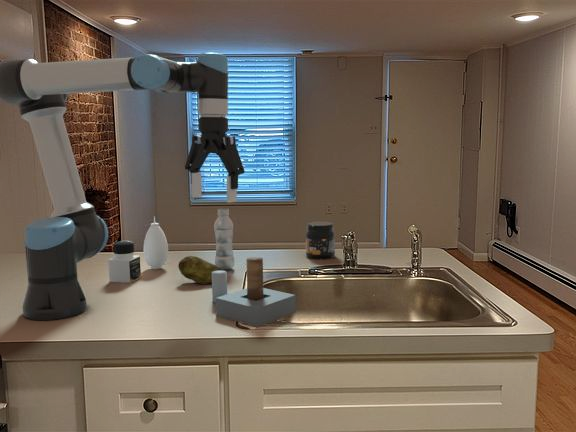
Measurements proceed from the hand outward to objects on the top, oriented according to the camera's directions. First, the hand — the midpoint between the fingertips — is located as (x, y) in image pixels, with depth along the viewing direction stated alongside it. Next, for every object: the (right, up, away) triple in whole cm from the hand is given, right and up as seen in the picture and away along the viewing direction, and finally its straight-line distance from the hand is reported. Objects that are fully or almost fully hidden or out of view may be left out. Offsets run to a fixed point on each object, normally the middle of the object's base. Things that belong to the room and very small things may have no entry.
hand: (213, 199), depth 151 cm
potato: (-7, -25, +25) cm, 36 cm away
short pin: (+1, -27, +5) cm, 28 cm away
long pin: (+11, -29, -6) cm, 31 cm away
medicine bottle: (-31, -24, +29) cm, 49 cm away
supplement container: (+31, -19, +59) cm, 69 cm away
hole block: (+11, -29, -6) cm, 31 cm away
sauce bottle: (-24, -22, +43) cm, 54 cm away
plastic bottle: (-1, -22, +41) cm, 46 cm away
